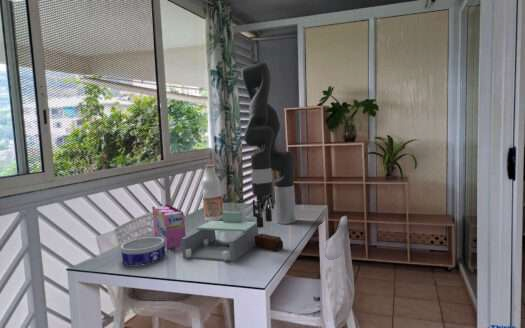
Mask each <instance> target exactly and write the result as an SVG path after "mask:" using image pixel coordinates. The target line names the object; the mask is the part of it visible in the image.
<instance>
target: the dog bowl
mask: <svg viewBox="0 0 525 328" xmlns="http://www.w3.org/2000/svg"><path fill="white" fill-rule="evenodd" d="M120 252H121V259H122V263H123V264H124V263H125V264H128V265H127V266H129V265H139V266H143V265H142V264H146V265H149V264H148V263H151V264H153V263H152V262H154V263H156V262H155V261H157V262H159V261H161V260H163V259H164V258H165V257H164V256H166V246H165V244H164V239H162V238H159V237H155V236H145V237H139V238H135V239H132V240H128V241H126V242H124V243H122V244H121V245H120ZM163 257H164V258H163ZM162 258H163V259H162ZM160 259H161V260H160ZM158 260H159V261H158ZM125 264H124V265H125Z"/></svg>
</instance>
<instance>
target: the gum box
mask: <svg viewBox="0 0 525 328" xmlns="http://www.w3.org/2000/svg"><path fill="white" fill-rule="evenodd" d="M151 207H152V209H151V210H152V220H153V231H154V237H159V238H162V239H164V244H165V248H166V249H168V248H169V249H173V248H172V247H174V248H177V247H182V243H181V238H183V237H185V236H187V235H186V225H185V215H184V212H183V211H182V210H180V209H178V208H176V207H175V206H173V205H171V204H169V203H166V204H165V205H164V206H162V205H161V206H151Z"/></svg>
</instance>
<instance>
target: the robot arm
mask: <svg viewBox="0 0 525 328" xmlns="http://www.w3.org/2000/svg"><path fill="white" fill-rule="evenodd" d="M241 78H242V82H243V84H244V88H245V89H246V92H247V94H248V97H249V100H250V104H249V108H248V111H249V113H248V114H249V116H248V123H247V125H246V128H245V131H244V138H243V139H244V141H245V144H246V145H247V146H250V147H258V146H264V147H263V149H262V150H260V151H257V152H252V154H251V155H250V164H251V165H250V166H251V189H252V195H255V196H256V199H252V213H253V214H252V217H254V218H256V222H257V227H258V229H259V228H260V229H262V228H264V213H265V221H266V222H267V223H268V222H269V223H272V221H273V216H272V215H273V214H272V212H273V209H274V208H275V215H276V216H275V217H276V223H278V224H280V225H289V224H295V222H297V212H296V195H295V194H296V193H295V159H294V154H293V153H292V151H290V150H289V151H288V150H287V151H277V148H276V142H277V141H276V140H277V138H278V135H279V132H280V129H281V123H280V120H279V116H278V114H277V111H276V110H275V108H274V107H273V106H272V105H271V104H269V103H268V100H269V95H270V88H271V87H270V85H271V73H270V69H269V66H268V64H267V63H266V62H259V63H254V64H250V65H247V66H243V67H242V69H241ZM256 88H258V90H257V89H256ZM272 171H273V172H283V175H282V176H281V177H279V178H276V179H274V181H273V173H272ZM273 186H274V187H273ZM273 194H274V195H273ZM274 200H275V201H274ZM274 202H275V204H274Z"/></svg>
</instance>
